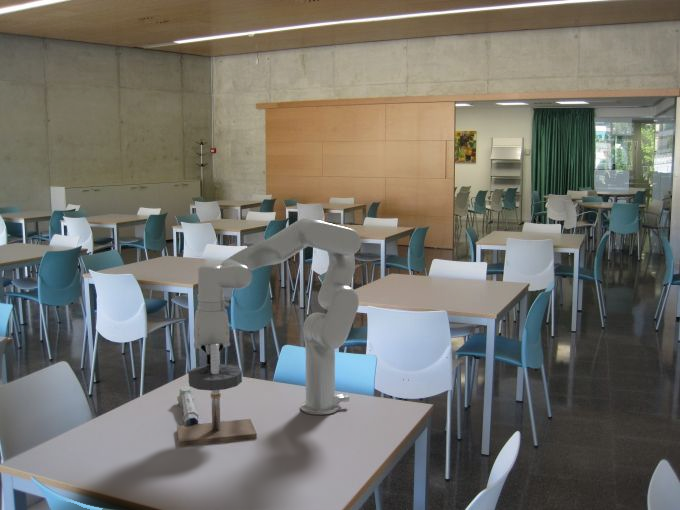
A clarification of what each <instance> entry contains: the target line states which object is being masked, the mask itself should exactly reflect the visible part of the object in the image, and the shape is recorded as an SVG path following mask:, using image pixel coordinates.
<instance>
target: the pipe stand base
mask: <svg viewBox="0 0 680 510" xmlns="http://www.w3.org/2000/svg"><path fill="white" fill-rule="evenodd" d="M176 432H177V439H178V446H179V447H180V448H181V447H187V446H199V445H207V444H218V443H225V442H226V443H227V442H235V441H245V440H254V438H256V439H257V438H258V435H257V434H258V433H257V431H256V428H255V426H254V424H253V422H252V419H251V418H244V419H235V420H234V419H233V420H226V421H220V431H212V422H204V423H198V424H193V425H183V424H182V425H177V426H176Z"/></svg>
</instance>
